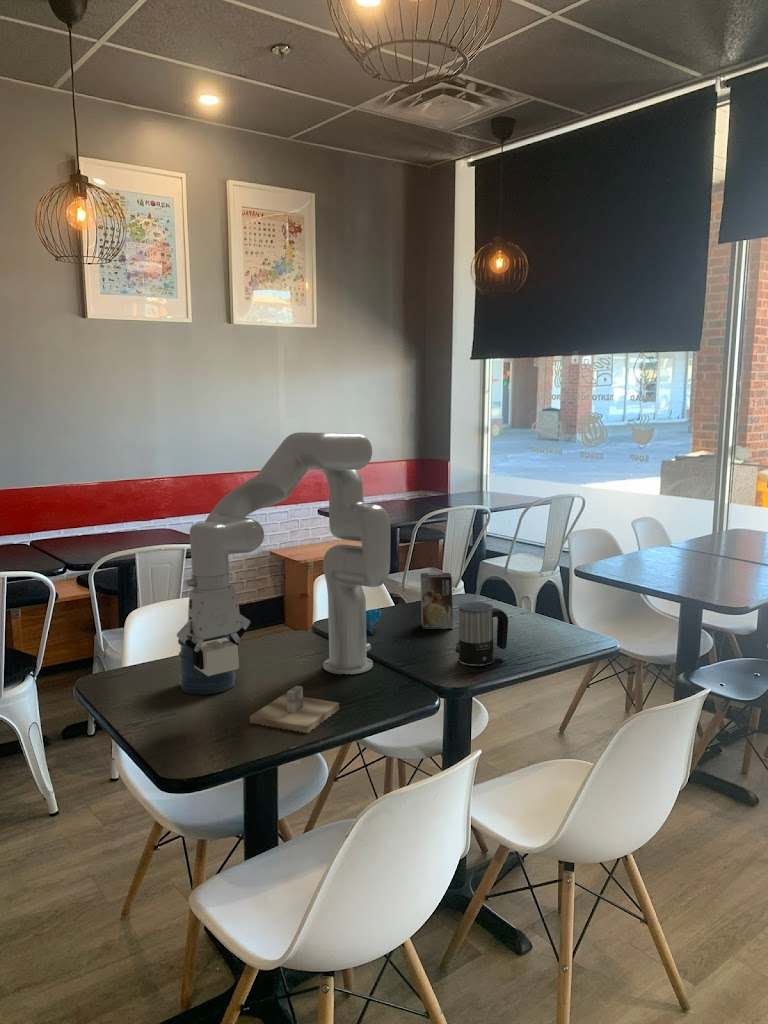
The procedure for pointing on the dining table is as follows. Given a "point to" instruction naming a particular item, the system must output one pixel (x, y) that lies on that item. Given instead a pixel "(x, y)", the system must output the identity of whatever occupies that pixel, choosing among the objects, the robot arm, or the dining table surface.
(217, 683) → the canister
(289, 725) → the base
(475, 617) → the milk frother
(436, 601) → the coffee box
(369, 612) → the blue green toy
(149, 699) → the dining table surface
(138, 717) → the dining table surface
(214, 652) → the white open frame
